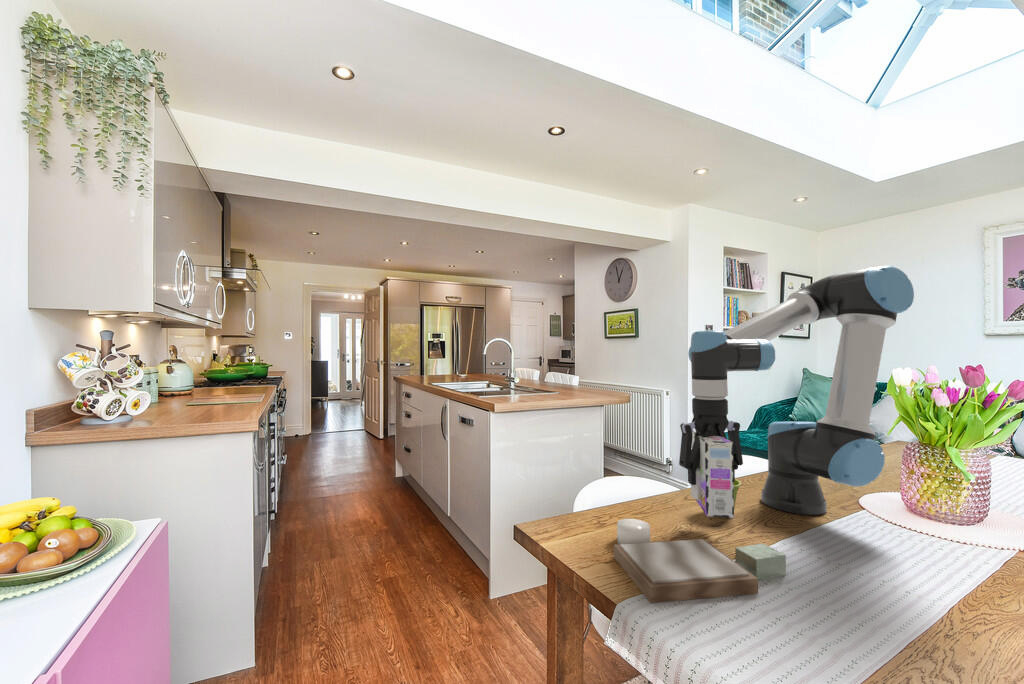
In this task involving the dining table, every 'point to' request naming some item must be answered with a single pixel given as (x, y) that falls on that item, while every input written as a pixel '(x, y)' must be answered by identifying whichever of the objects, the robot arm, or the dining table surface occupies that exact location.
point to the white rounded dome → (632, 531)
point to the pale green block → (761, 560)
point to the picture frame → (683, 570)
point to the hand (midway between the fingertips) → (711, 497)
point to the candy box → (716, 476)
